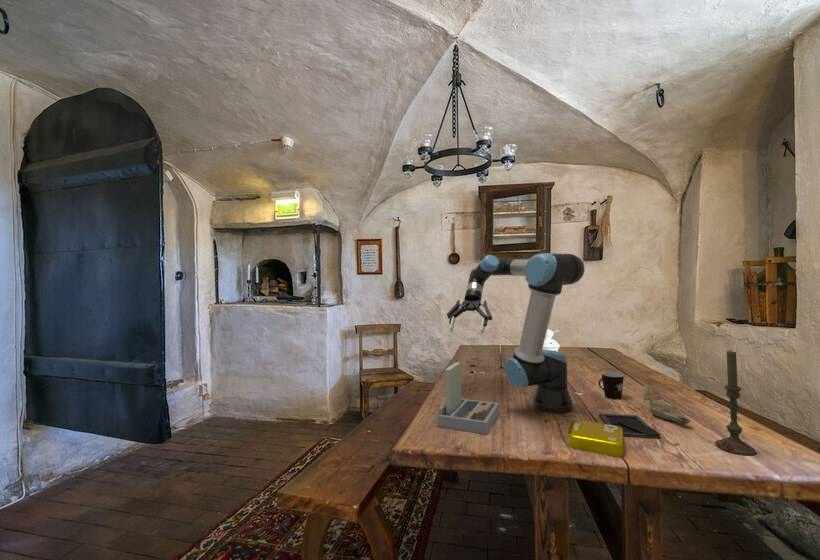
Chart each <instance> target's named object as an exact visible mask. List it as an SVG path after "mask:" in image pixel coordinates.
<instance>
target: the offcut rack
mask: <svg viewBox="0 0 820 560" xmlns="http://www.w3.org/2000/svg"><path fill="white" fill-rule="evenodd" d="M487 403H491V411H490V412H489V414H488V415H487V417H486V418H485V420H484V421H480V420H474V413H475V411H476V410H477V409H478V408H479V406H480V405H484V406H485V405H486V404H487ZM468 411H471V412H469V414H468V415H467V416H466V418H465V417H464V416H465V414H466V413H467V412H468ZM499 414H500V403H499V402H490V401H482V400H475V399H466V398H462V404H461V405H460V406H459V407H458V408H457V409H456V410H455V411H454V412H453V413H452V414H451V415H450V416H446V402H444V403H443V404H442V405H441V406H440V407H439V408H438V415H437V427H439V428H443V429H444V428H445V429H449V430H458V431H463V432H469V433H475V434H482V435H488V433H489V431H490V429H492V427H493V424H494V423H495V421H496V420H497V418H498V417H499Z"/></svg>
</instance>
